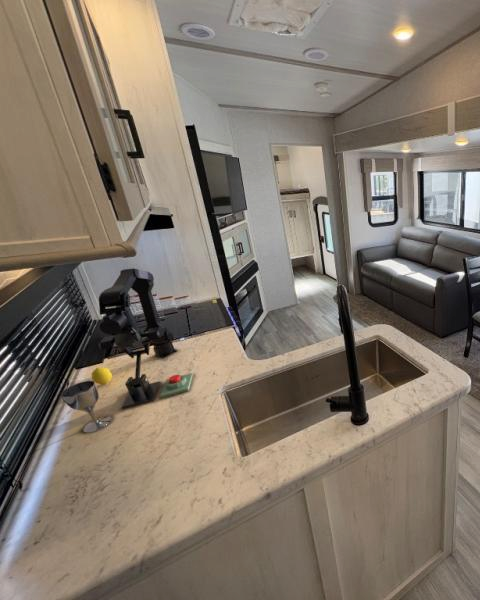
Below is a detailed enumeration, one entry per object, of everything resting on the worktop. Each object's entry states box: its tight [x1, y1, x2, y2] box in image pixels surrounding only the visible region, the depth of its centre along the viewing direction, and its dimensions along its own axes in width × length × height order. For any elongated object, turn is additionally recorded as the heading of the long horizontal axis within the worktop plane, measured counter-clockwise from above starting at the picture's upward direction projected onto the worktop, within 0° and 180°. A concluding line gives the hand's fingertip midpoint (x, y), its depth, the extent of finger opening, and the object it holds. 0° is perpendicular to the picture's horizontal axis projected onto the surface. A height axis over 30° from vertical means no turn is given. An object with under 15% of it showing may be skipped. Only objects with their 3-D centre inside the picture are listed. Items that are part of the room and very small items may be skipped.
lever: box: [131, 348, 147, 388], centre depth 118 cm, size 15×4×2 cm
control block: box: [159, 373, 194, 399], centre depth 121 cm, size 11×9×3 cm
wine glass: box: [60, 380, 112, 434], centre depth 101 cm, size 8×8×15 cm
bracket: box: [121, 373, 161, 410], centre depth 116 cm, size 12×9×8 cm
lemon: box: [91, 366, 113, 385], centre depth 123 cm, size 6×6×8 cm
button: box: [168, 374, 181, 384], centre depth 120 cm, size 4×4×2 cm
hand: (140, 356), depth 122 cm, fingers closed on lever, 4 cm apart
